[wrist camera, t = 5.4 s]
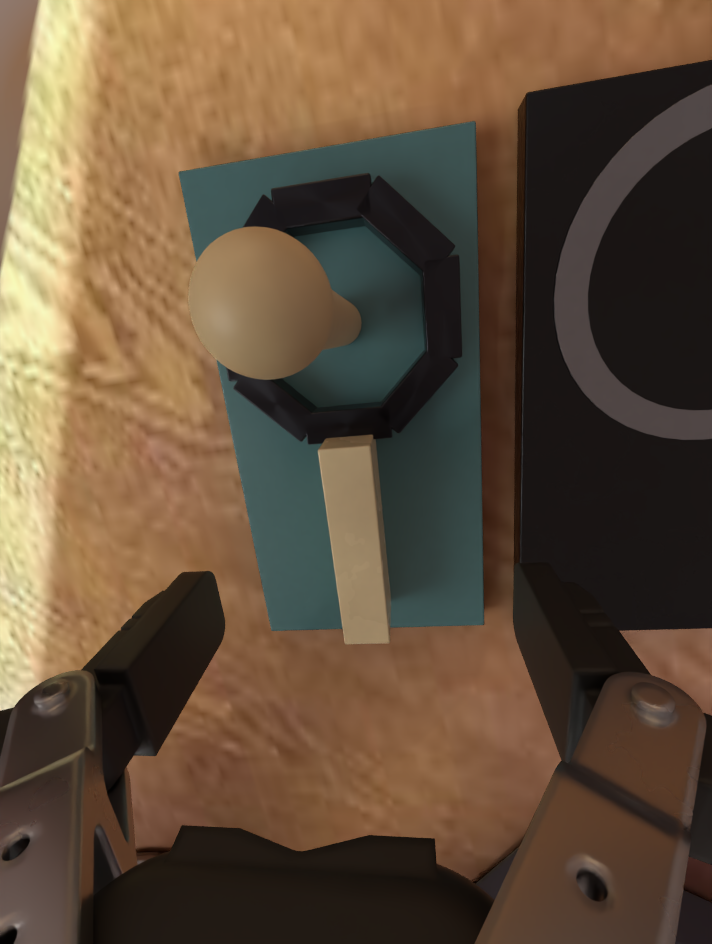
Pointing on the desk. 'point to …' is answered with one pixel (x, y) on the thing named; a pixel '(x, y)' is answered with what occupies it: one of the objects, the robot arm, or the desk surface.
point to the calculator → (700, 922)
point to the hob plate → (617, 342)
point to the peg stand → (346, 370)
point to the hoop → (359, 425)
